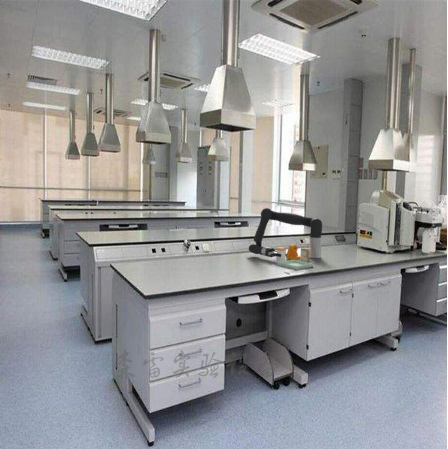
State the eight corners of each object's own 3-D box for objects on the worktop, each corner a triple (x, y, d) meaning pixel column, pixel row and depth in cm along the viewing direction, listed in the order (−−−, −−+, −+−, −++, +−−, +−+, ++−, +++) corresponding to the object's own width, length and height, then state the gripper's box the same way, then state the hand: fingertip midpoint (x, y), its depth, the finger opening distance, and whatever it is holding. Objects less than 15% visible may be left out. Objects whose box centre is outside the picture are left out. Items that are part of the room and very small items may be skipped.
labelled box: (280, 262, 289) (281, 247, 288) (285, 263, 285) (285, 247, 284) (276, 262, 286) (276, 247, 285) (280, 263, 282) (281, 248, 281)
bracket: (291, 260, 296) (291, 246, 295) (285, 259, 302) (286, 244, 301) (301, 259, 301) (302, 245, 299) (296, 258, 307) (296, 244, 306)
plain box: (304, 263, 288) (305, 247, 286) (309, 264, 284) (310, 248, 282) (300, 263, 285) (300, 248, 284) (305, 264, 281) (305, 249, 280)
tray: (294, 263, 286) (294, 259, 286) (312, 267, 272) (313, 263, 271) (278, 265, 275) (278, 261, 275) (296, 270, 261) (296, 266, 261)
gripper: (261, 248, 292) (277, 251, 278) (274, 246, 300) (290, 249, 287) (261, 257, 292) (276, 261, 279) (274, 255, 301) (289, 259, 287)
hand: (283, 255), depth 283 cm, fingers closed on labelled box, 5 cm apart
